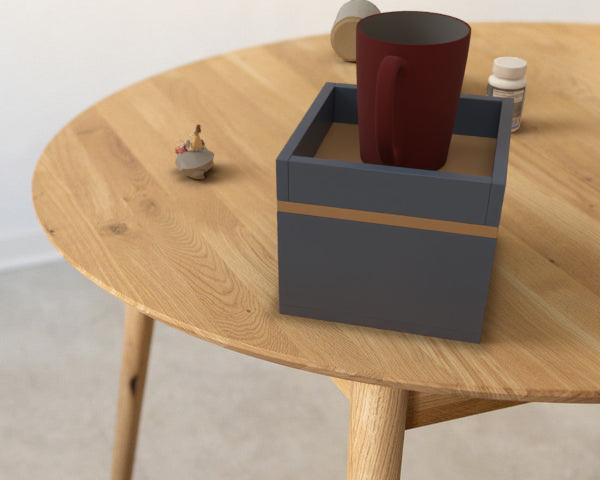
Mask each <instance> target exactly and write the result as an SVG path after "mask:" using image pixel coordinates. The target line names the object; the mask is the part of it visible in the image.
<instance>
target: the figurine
mask: <svg viewBox="0 0 600 480" xmlns="http://www.w3.org/2000/svg"><path fill="white" fill-rule="evenodd" d="M201 132H202V126H201V124H199V123H197V124H196V125H195V129H194V131H193V132H191V133H190V134H189V137H188V138H186V139H184V140H185V141H182V140H181V139H179V140H176V143H177V142H178V146H176V147H175V148H174V153H175V154H176V155H175V165H176V167H177V168H178V170H179V171H180V172H181V173H183V174H184V175H185V176H186V177H189V178H192V179H195V180H199V181H202V180H204V179H205V173H206V172H208V171H209V170H210V169H211V168H212V167H213V166H214V158H215V153H214V152H213V151H211V150H209V148H207V145H206V142H205V141H204V139H201V137H200V134H202V133H201ZM191 136H192V137H193V138H192V141H191V140H190V139H191ZM181 142H182V145H181ZM190 148H191V149H190Z"/></svg>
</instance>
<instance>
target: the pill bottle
mask: <svg viewBox="0 0 600 480" xmlns="http://www.w3.org/2000/svg"><path fill="white" fill-rule="evenodd" d="M527 68H528V62H527V61H526V60H525V59H523V58H520V57H516V56H507V55H506V56H499V57H496V58H494V60H493V63H492V67H491V70H492V71H491V73H492V74H490V75H489V77H488V78H487V83H486V92H485V93H486V94H485V96H493V97H502V98H503V97H506V98H514V107H513V117H512V128H511V133H515V132H517V130H519V129H520V127H521V122H522V116H523V110H524V105H525V99H526V92H527V86H528V80H527V78H526V74H527Z"/></svg>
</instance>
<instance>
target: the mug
mask: <svg viewBox="0 0 600 480" xmlns="http://www.w3.org/2000/svg"><path fill="white" fill-rule="evenodd" d="M471 37H472V27H471V26H470V24H469V23H468V22H466V21H465V20H463V19H461V18H458V17H456V16H453V15H448V14H445V13H439V12H432V11H424V10H423V11H422V10H394V11H384V12H381V13H378V14H374V15H370V16H367V17H365V18H363V19H361V20H360V21H359V22H358V23H357V25H356V62H355V72H356V73H355V76H356V77H355V78H356V85H357V103H358V125H359V145H360V158H361V160H362V161H363V163H366V164H375V165H384V166H393V167H403V168H412V169H421V170H430V171H437V170H439V169H440V168H442V167H443V166H444V165H445V163H446V161H447V156H448V152H449V147H450V142H451V138H452V133H453V128H454V123H455V119H456V114H457V109H458V104H459V99H460V94H462V88H463V83H464V80H465V79H464V78H465V73H466V70H467V69H466V68H467V67H466V66H467V63H468V59H469V58H468V57H469V51H470V45H471Z"/></svg>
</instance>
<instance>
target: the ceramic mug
mask: <svg viewBox="0 0 600 480" xmlns="http://www.w3.org/2000/svg"><path fill="white" fill-rule="evenodd" d="M378 13H382V12H381V10H380V9H379V8H378V6H377V5H376V4H375V3H374V2H371V1H369V0H348V1H346V2H345V3H343V4H342V6H340V8H339V10H338V11H337V13H336V17H335V19H334V21H333V24H332V26H331V29H330V44H331V47H332V49H333V51H334V53H335V54H336V55H337V56H338V57H339V58H341V59H342V60H344V61H347V62H352V63H353V62H355V63H356V25H357V23H358V22H359V21H360V20H361V19H363V18H365V17H367V16H370V15H374V14H378Z"/></svg>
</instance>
